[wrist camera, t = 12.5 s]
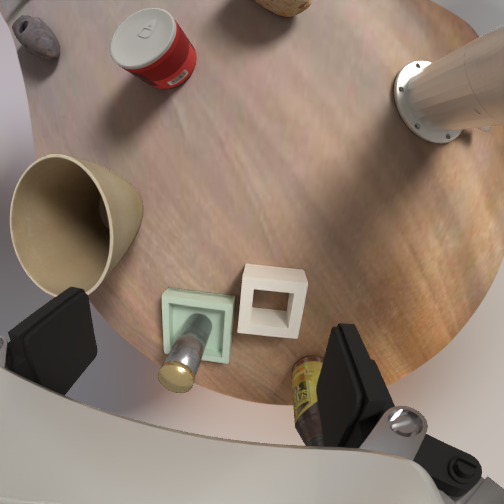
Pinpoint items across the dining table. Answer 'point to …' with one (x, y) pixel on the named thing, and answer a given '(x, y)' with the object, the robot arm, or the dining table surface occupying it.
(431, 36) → the dining table surface
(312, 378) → the sauce bottle
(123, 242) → the plant pot
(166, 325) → the tray
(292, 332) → the socket block
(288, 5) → the tan ring
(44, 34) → the perforated stone tool
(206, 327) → the pin
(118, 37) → the canned food
